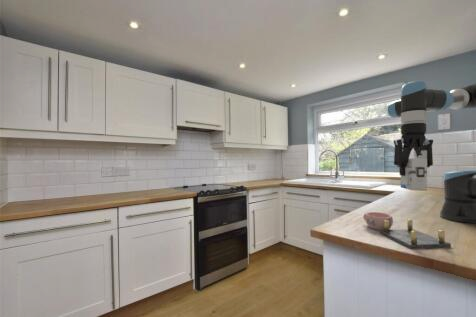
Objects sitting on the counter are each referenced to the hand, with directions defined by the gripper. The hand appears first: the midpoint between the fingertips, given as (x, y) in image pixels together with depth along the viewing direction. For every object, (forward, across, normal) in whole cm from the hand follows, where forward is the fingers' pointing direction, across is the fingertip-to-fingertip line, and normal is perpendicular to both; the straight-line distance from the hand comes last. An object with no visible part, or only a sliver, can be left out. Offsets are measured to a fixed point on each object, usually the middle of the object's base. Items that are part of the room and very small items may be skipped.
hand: (413, 184), depth 83 cm
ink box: (+2, 0, 0) cm, 2 cm away
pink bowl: (+20, +6, -12) cm, 24 cm away
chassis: (+20, +3, +3) cm, 20 cm away
